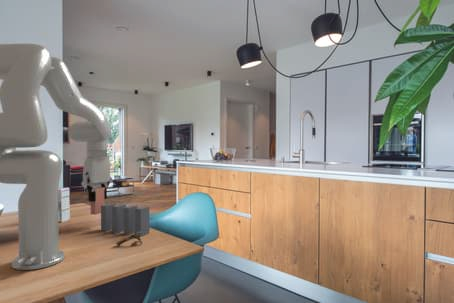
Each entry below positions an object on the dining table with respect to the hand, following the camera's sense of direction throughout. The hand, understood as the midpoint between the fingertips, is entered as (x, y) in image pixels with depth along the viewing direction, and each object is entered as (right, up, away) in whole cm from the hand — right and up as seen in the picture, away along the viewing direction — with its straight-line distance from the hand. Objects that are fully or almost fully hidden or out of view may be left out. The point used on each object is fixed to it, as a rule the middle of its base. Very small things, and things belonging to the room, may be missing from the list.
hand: (97, 199), depth 116 cm
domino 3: (+10, -12, -4) cm, 16 cm away
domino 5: (+20, -12, -8) cm, 25 cm away
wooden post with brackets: (+19, -12, -20) cm, 30 cm away
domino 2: (+5, -12, -2) cm, 13 cm away
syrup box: (-22, -12, +12) cm, 28 cm away
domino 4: (+15, -12, -6) cm, 20 cm away
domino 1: (0, -5, 0) cm, 5 cm away
